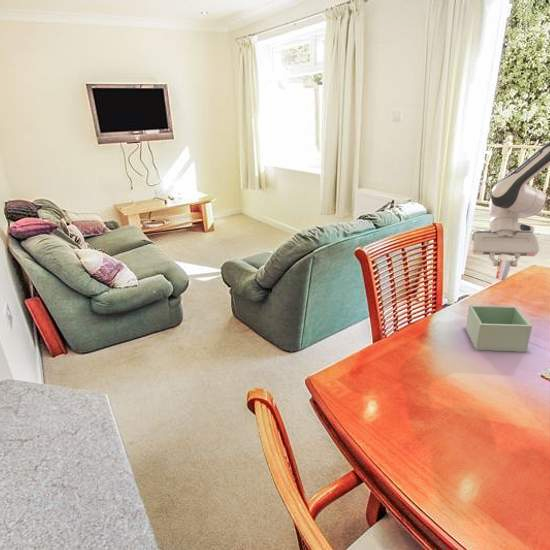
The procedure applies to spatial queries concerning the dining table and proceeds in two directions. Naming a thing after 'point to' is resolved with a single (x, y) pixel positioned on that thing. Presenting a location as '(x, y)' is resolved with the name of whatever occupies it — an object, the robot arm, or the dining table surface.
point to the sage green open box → (498, 328)
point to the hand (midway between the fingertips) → (504, 265)
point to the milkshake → (503, 266)
